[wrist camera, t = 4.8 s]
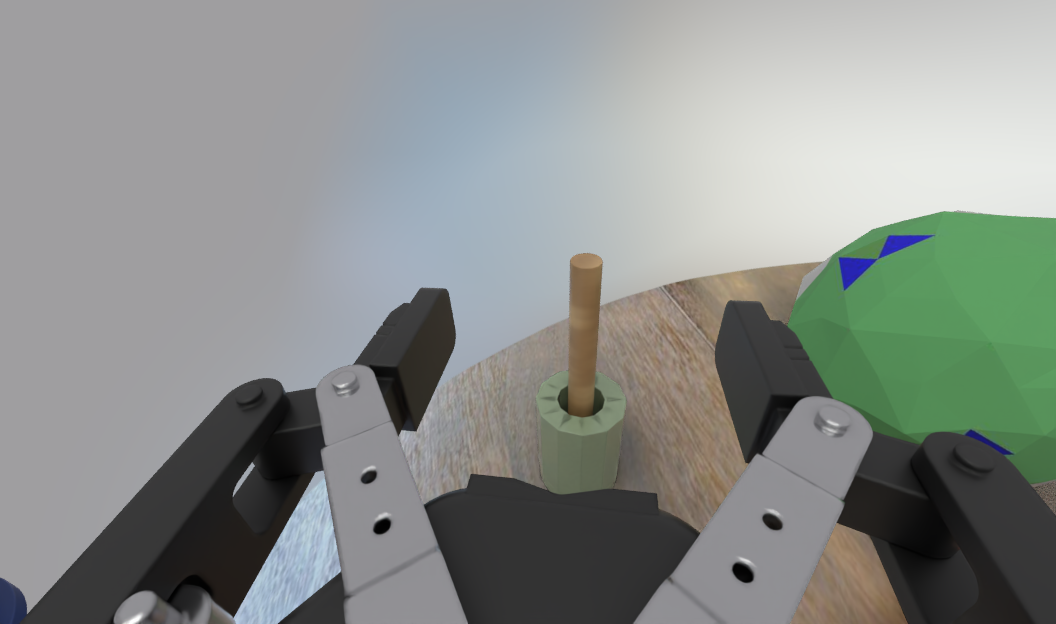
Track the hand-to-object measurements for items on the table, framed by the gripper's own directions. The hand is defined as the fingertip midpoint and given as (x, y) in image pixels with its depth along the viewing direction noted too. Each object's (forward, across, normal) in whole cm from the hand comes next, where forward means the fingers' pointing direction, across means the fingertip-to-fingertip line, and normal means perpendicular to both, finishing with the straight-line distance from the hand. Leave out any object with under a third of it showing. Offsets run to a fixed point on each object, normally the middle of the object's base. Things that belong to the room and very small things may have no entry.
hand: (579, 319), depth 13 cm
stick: (+11, 0, +22) cm, 25 cm away
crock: (+11, 0, +23) cm, 26 cm away
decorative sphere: (+18, -25, +23) cm, 39 cm away
